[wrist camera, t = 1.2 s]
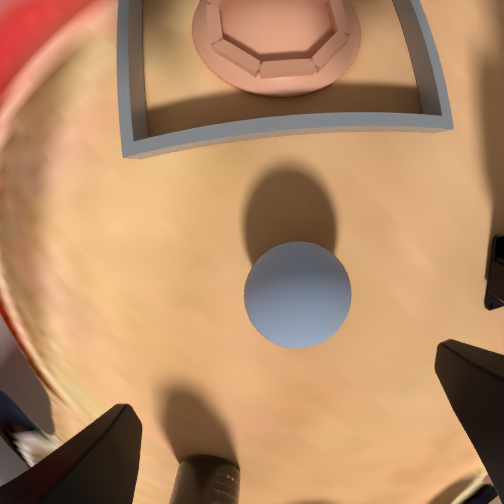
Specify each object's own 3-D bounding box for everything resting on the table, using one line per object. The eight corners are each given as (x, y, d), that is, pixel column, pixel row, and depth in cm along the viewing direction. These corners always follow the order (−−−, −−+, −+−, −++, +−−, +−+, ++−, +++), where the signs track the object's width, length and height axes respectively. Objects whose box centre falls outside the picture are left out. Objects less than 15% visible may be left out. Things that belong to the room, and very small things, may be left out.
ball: (336, 227, 18) (365, 251, 13) (339, 312, 20) (362, 361, 14) (241, 237, 19) (230, 265, 13) (253, 321, 20) (248, 375, 14)
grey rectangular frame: (382, -41, 12) (392, -56, 10) (434, 132, 16) (453, 129, 14) (134, -21, 14) (122, -36, 11) (140, 159, 18) (122, 157, 15)
